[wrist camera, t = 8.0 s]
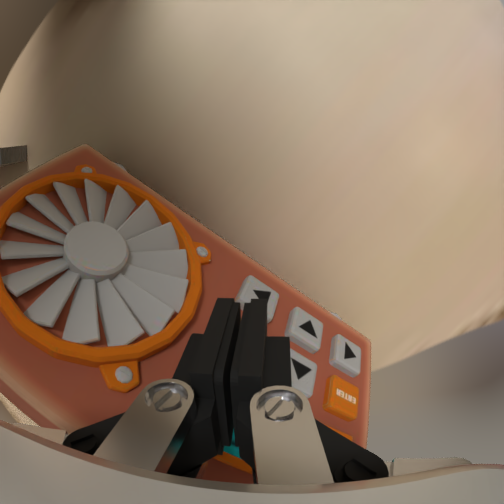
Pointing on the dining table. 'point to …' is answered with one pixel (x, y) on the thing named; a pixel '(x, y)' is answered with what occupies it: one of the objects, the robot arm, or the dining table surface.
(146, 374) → the control panel
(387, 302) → the dining table surface
